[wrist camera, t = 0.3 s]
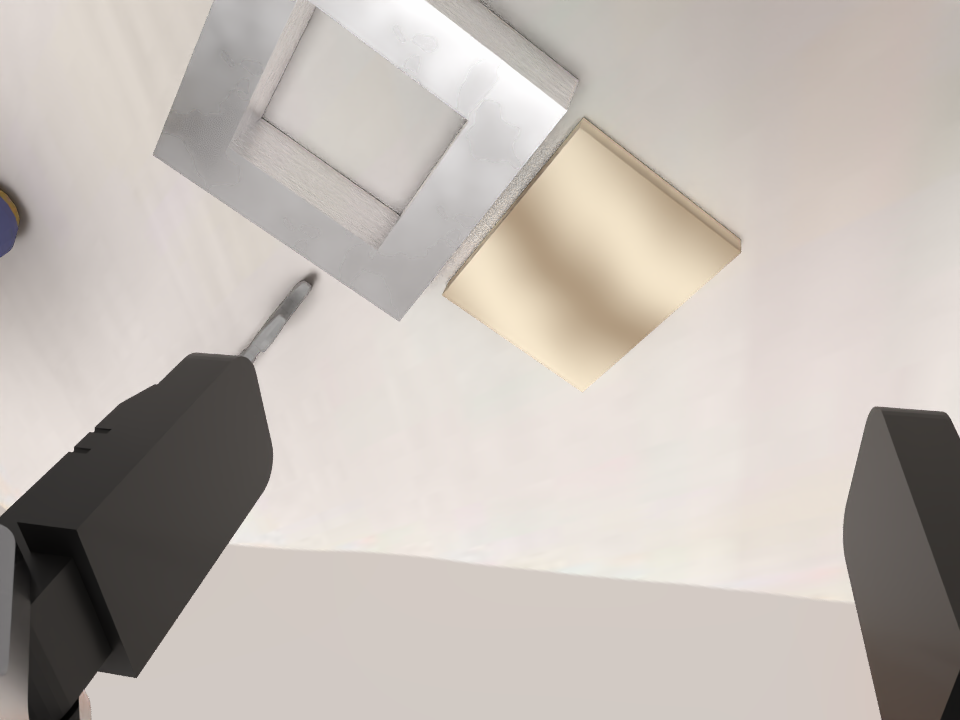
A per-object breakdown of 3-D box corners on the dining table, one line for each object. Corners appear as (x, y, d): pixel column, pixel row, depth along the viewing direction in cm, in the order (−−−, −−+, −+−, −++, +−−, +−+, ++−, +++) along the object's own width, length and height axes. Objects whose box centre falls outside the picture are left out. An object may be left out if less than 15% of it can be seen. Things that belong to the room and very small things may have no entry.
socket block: (301, -139, 27) (263, -126, 25) (579, 80, 30) (567, 110, 27) (189, 126, 35) (152, 154, 33) (419, 284, 37) (399, 321, 35)
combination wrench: (147, 504, 48) (302, 327, 36) (128, 492, 48) (278, 309, 35) (180, 459, 51) (334, 280, 39) (162, 448, 51) (312, 263, 38)
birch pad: (583, 117, 31) (579, 127, 30) (740, 239, 32) (741, 252, 31) (448, 283, 37) (441, 295, 36) (585, 379, 38) (582, 392, 38)
